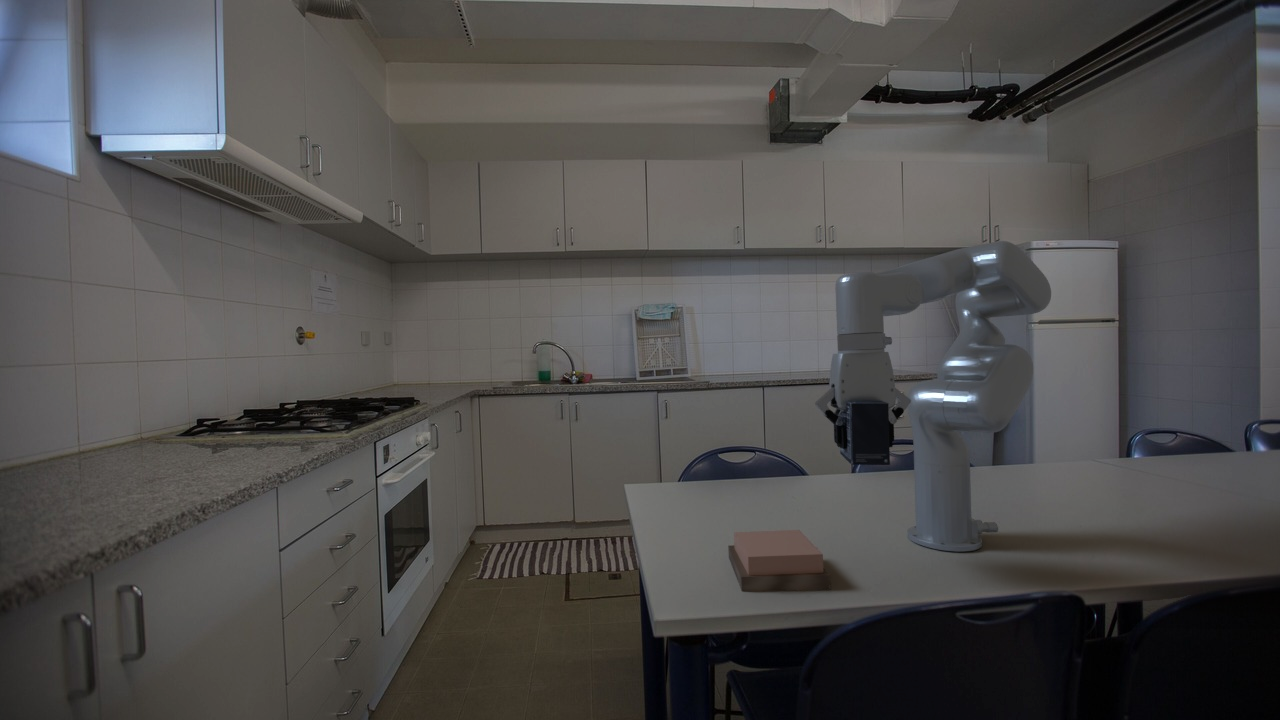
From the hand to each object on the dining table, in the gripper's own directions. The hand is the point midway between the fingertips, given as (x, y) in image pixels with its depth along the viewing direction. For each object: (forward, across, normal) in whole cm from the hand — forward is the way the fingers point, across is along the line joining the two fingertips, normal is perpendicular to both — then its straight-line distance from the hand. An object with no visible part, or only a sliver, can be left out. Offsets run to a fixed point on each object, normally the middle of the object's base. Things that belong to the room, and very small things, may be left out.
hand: (864, 446), depth 90 cm
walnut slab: (+22, +16, +1) cm, 27 cm away
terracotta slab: (+19, +16, +2) cm, 25 cm away
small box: (+3, 0, 0) cm, 3 cm away
